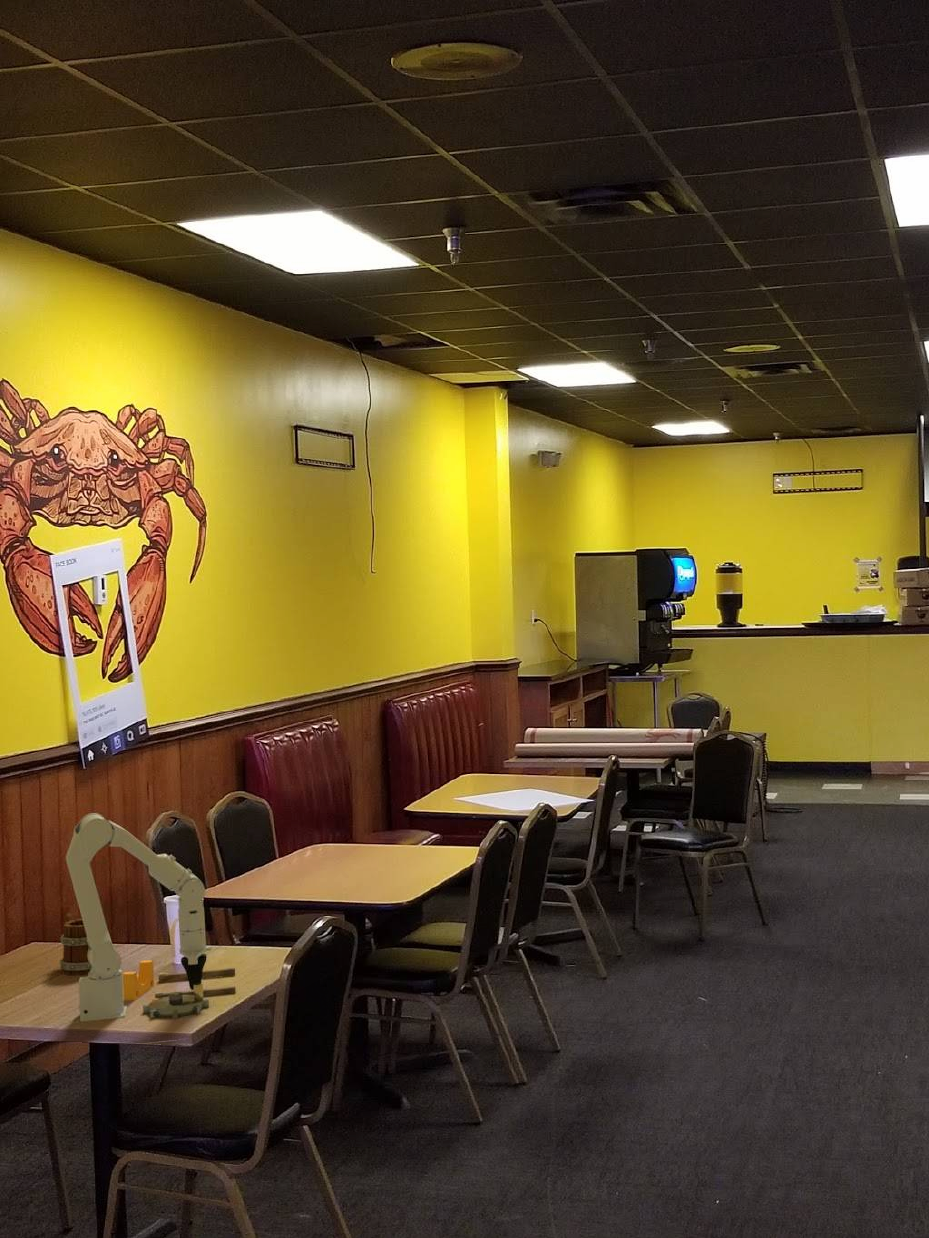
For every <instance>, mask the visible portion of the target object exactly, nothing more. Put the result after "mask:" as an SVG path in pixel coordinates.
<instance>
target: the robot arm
mask: <svg viewBox="0 0 929 1238" xmlns="http://www.w3.org/2000/svg"><path fill="white" fill-rule="evenodd" d="M106 845H108V846H109V847H116V848H117V847H120V848H122V849H124V850H125V851H127V852H128V853H129V854H130V855H132V856H133V857H135V858H136V859H138V860H139V861H141V862H142V863H143V864H144V865H147V867H148V875H149V876H150V877H152V878H153V879H154V880H156V881H157V882H159V883H160V884H161V885H162V886H164V887H165V888H167V889H168V890H169V891H171V892H174V893H175V894H176V896H178V897H179V898H177V899H178V900H177V902H178V910H177V914H178V915H177V916H178V931H179V932H178V933H179V954H180V955H182V957H181V959H180V963H181V965H182V967H183V969H184V971H185V972H186V974H187V977H188V980H187V981H188V986H189V988H190V991H192V990H194V984H199V983H201V984H202V979H203V978H202V972H203V971H204V967H205V965H206V962H207V956H208V955H207V954H206V952H207V951H211V950H212V945H207V941H206V923H205V920H206V919H205V907H204V897H205V895H206V891H207V890H206V888H205V885H204V883H203V882H202V880H201V879H199V877H197V876H196V875H195V873H192V872H193V871H192V870H191V869H190V868H187V869H186V868H185V867H184V866H183V865H181V864H180V863H178V862H177V861H176V859H177V858H176V857H175V856H173V855H172V854H170V855H168V854H167V853H160V854H156V853H155V852H154V851H153V850H151V849H150V848H149V847H148V846H146V845H145V844H144V843H143V842H142V841H141V840H139V839H138V838H136V837H135V836H134V835H133V834H132V833H131V832H129V831H128V830H127V829H125V828H123V827H122V826H120V825H118V824H117V823H115V822H113V821H111V820H109V819H108V820H107V819H106V818H105V817H104V816H103V815H101V814H100V813H96V812H93V813H88V814H86V815H84V816H83V817H81V819H80V821H79V822H78V823H77V825H76V826H75V827H74V829H73V835H72V838H71V840H70V843H69V847H68V848H67V853H66V855H65V861H66V864H67V869H68V872H69V875H70V878H71V879H70V881H71V883H72V886H73V890H74V894H75V897H76V901H77V905H78V909H79V912H80V917H81V919H82V920H83V923H84V927H85V931H86V934H87V941H88V945H89V950H88V955H87V957H88V961H89V963H90V964H91V965H92V968H91V970H90V972H89V973H88V974H87V976H81V977H79V980H78V1000H79V1001H78V1003H79V1005H78V1010H79V1016H80V1018H79V1019H80V1020H79V1022H90V1021H100V1020H102V1021H103V1020H111V1019H121V1018H125V1017H126V1013H127V1010H128V1006H127V1005H125V1004H124V1003H125V1000H124V991H123V970H122V969H121V967H122V957H121V955H120V953H119V952H118V951H117V949H116V947H115V945H114V944H113V942H112V939H111V936H110V933H109V932H110V931H109V930H108V927H107V926H108V925H107V922H106V920H105V919H106V918H105V916H104V915H105V914H104V912H103V911H104V910H103V908H102V904H101V901H100V896H99V892H98V888H97V887H96V883H95V879H94V874H93V871H92V867H91V864H90V863H91V861H92V860H93V858H94V856H95V855H96V854H97V853H98V851H100V850H101V849H102V848H103V847H105V846H106Z"/></svg>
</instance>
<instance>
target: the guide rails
mask: <svg viewBox="0 0 929 1238" xmlns="http://www.w3.org/2000/svg"><path fill="white" fill-rule="evenodd" d="M227 975H232V976H236V967H231V968H230V967H228V968H218V969H208V970H203V972H202V979H210V978H220V976H222V977H227ZM166 981H169V982H176V981H177V982H178V981H179V982H180V981H188V977H187V974H186V971H185V972H175V973H167V972H160V973H158V983H167V982H166ZM236 991H237V989H236V986H234V985H233V986H225V987H223V986H222V987H215V988H213V987H212V988H203V997H207V996H208V997H209V996H210V997H211V996H220V995H229V994H236V993H237V992H236ZM180 992H182V994H183V995H194V990H183V991H180ZM169 993H172V992H164V991H156V992H155V993H154V999H155V998H157V999H160V998H164V997H169Z"/></svg>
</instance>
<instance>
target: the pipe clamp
mask: <svg viewBox="0 0 929 1238" xmlns="http://www.w3.org/2000/svg"><path fill="white" fill-rule="evenodd" d="M138 964H139V968H138V972H137V971H125V972H124V973H122V983H123V1001H136V1000H137V999H138V998H140V997H142V995H144V994H145V993H147V992H148V991H149V990H150V989H152V988H153V987H155V971H154V969H155V968H154V960H151V959H150V960H147V959H146V960H145V959H144V960H141V961H139V962H138Z"/></svg>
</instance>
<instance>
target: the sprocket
mask: <svg viewBox="0 0 929 1238" xmlns="http://www.w3.org/2000/svg"><path fill="white" fill-rule="evenodd" d="M203 989H204V985H203V983H202V982H201V983H199V984H194V995H183V994H182V992H181V991H173V992H172V993H171V992H168V993H169V997H164V998H160V999H157V998H155V997H154V998H152V999H151V1002H149V1003H148V1004H144V1005H142V1012H143V1014H148V1015H149V1016H150V1019H156V1018H161V1019H162V1018H167V1019H168V1018H172V1019H173V1020H174V1019H178V1018H180V1017H185V1016H190V1015H193V1014H195V1015H199V1014H201V1013H202V1012H201V1011H202V1010H203V1009H204V1008H209V1007H210V999H209V998H204V996H203Z"/></svg>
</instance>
